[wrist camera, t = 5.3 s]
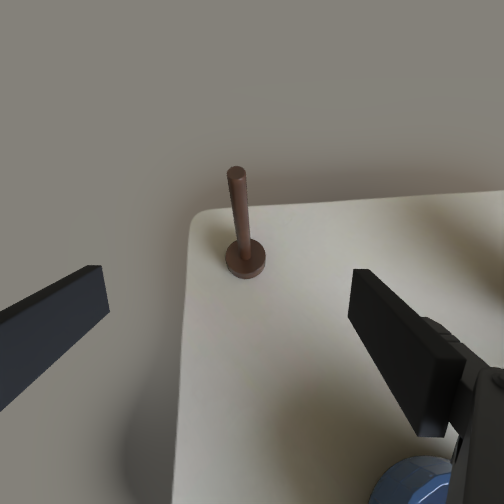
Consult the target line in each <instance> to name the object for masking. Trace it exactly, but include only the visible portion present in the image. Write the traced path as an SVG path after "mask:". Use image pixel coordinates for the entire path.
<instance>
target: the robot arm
mask: <svg viewBox="0 0 504 504" xmlns="http://www.w3.org/2000/svg"><path fill="white" fill-rule="evenodd" d="M109 312H110V310H109V304H108V299H107V293H106V288H105V283H104V277H103V272H102V266H101V265H87V266H85V267H83V268H81V269H79V270H78V271H76V272H74V273H72V274H70V275H68V276H66V277H64V278H62V279H61V280H59V281H57V282H55V283H53V284H51V285H49V286H47V287H46V288H44V289H42V290H40V291H38V292H36V293H34V294H32V295H30V296H29V297H27V298H25V299H23V300H21V301H19V302H17V303H15V304H13V305H12V306H10V307H8V308H6V309H4V310H2V311H0V412H1V411H2V410H3V409H4V408H5V407H6V406H7V405H8V404H9V403H10V402H12V401H13V400H14V399H15V398H16V397H17V396H18V395H19V394H20V393H21V392H23V391H24V390H25V389H26V388H27V387H28V386H29V385H30V384H31V383H32V382H33V381H35V379H37V378H38V377H39V376H40V375H41V374H42V373H43V372H45V371H46V369H48V368H49V367H50V366H51V365H52V364H53V363H54V362H55V361H57V360H58V359H59V358H60V357H61V356H62V355H63V354H64V353H65V352H66V351H67V350H69V349H70V348H71V347H72V346H73V345H74V344H75V343H76V342H77V341H78V340H80V339H81V338H82V337H83V336H84V335H85V334H86V333H87V332H88V331H89V330H90V329H92V328H93V327H94V326H95V325H96V324H97V323H98V322H99V321H100V320H101V319H103V318H104V317H105V316H106V315H107V314H108V313H109ZM348 318H349V320H350V322H351V323H352V325H353V327H354V329H355V330H356V332H357V334H358V335H359V337H360V339H361V341H362V342H363V344H364V346H365V347H366V349H367V351H368V353H369V354H370V356H371V358H372V359H373V361H374V363H375V365H376V366H377V368H378V370H379V371H380V373H381V375H382V377H383V378H384V380H385V382H386V383H387V385H388V387H389V389H390V390H391V392H392V394H393V395H394V397H395V399H396V401H397V402H398V404H399V406H400V407H401V409H402V411H403V413H404V414H405V416H406V418H407V419H408V421H409V423H410V425H411V426H412V428H413V430H414V431H415V433H416V435H417V437H441V438H444V436H445V433H446V430H447V426H448V423H449V422H450V423H451V425H452V426H453V427H454V429H455V430H456V432H457V433H458V434H459V436H458V439H457V442H456V445H455V448H454V452H453V455H452V458H451V461H450V464H452V470H451V476H450V482H449V488H448V494H447V500H446V504H504V369H501V368H495V367H490V366H489V365H488V364H486V363H485V362H484V361H483V360H482V359H481V358H479V357H478V356H477V355H476V354H475V353H474V352H472V351H471V350H470V349H469V348H468V347H467V346H465V345H464V344H463V343H460V340H458V339H457V338H456V337H455V336H454V335H451V333H450V332H449V331H448V330H447V329H446V328H445V327H443V326H442V325H441V324H439V323H437V322H435V321H433V320H432V319H430V318H428V317H420V316H419V315H418V314H417V313H416V312H415V311H414V310H413V309H412V308H410V307H409V306H408V305H407V304H406V303H405V302H404V301H403V300H402V299H401V298H400V297H398V296H397V295H396V294H395V293H394V292H393V291H392V290H391V289H390V288H389V287H388V286H387V285H385V284H384V283H383V282H382V281H381V280H380V279H379V278H378V277H377V276H376V275H375V274H374V273H372V272H371V271H370V270H369V269H353V277H352V285H351V293H350V302H349V310H348Z"/></svg>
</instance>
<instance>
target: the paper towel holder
mask: <svg viewBox="0 0 504 504" xmlns="http://www.w3.org/2000/svg"><path fill="white" fill-rule="evenodd" d="M227 179H228V185H229V192H230V198H231V204H232V211H233V217H234V224H235V230H236V236H237V240H236V241H235V242H233V243H232V244H231V245H230V246H229V247H228V249H227V251H226V256H225V258H226V263H227V266H228V269H229V271H230V272H231V273H232V274H233V275H234V276H236V277H238V278H242V279H250V278H253V277H255V276H257V275H259V274H260V273H261V272H262V270H263V268H264V266H265V257H266V255H265V250H264V248H263V246H262V245H261V244H260V243H259V242H257V241H255V240H253V239H250V229H249V214H248V199H247V186H246V172H245V170H244V169H243V168H242V167H239V166H234V167H231V168H230V169H229V170H228V171H227Z"/></svg>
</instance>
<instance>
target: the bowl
mask: <svg viewBox="0 0 504 504" xmlns="http://www.w3.org/2000/svg"><path fill="white" fill-rule="evenodd" d="M450 461H451V460H448V459H445V458H441V457H436V456H425V455H424V456H414V457H411V458H407V459H404V460H402V461H400V462H398V463H396V464H395V465H394V466H392V467H391V468H389V469H388V470H387V471H386V472H385V474H384V475H383V476H382V477H381V478H380V480H379V481H378V483H377V484H376V486H375V488H374V490H373V492H372V494H371V497H370V500H369V503H368V504H446V500H447V494H448V488H449V482H450V476H451V470H452V464H450Z"/></svg>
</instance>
